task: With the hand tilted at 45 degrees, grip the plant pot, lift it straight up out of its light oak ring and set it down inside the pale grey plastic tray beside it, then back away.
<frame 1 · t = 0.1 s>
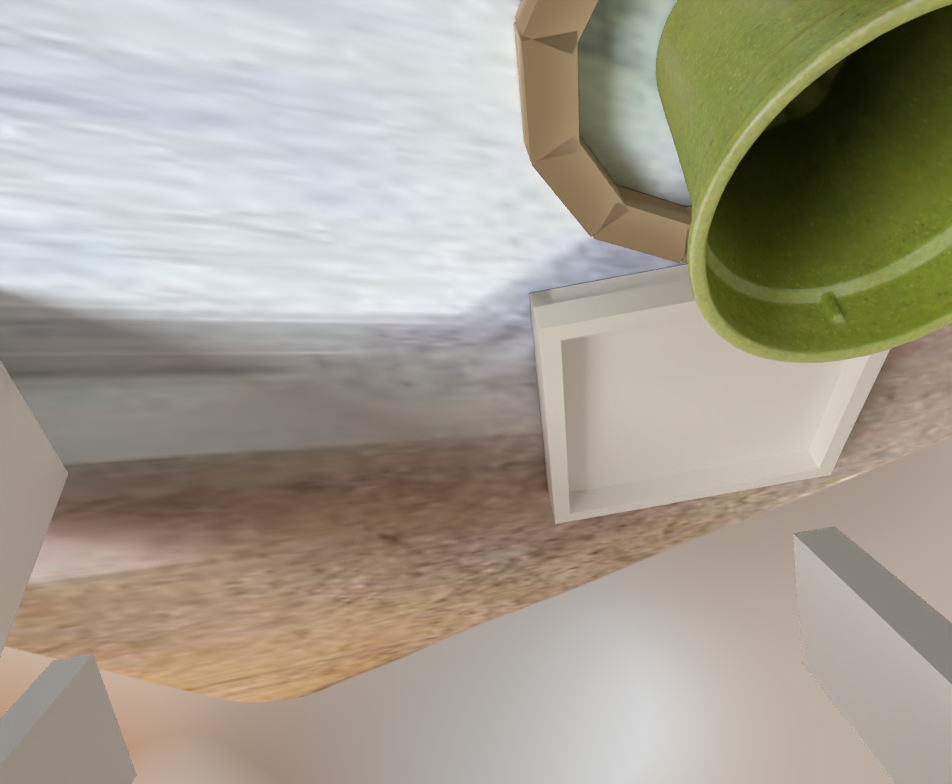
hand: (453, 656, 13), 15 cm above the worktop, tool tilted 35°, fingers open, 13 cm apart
plant pot: (750, 37, 21), resting in oak ring
oak ring: (753, 41, 20), on the worktop
grey tray: (695, 381, 32), on the worktop
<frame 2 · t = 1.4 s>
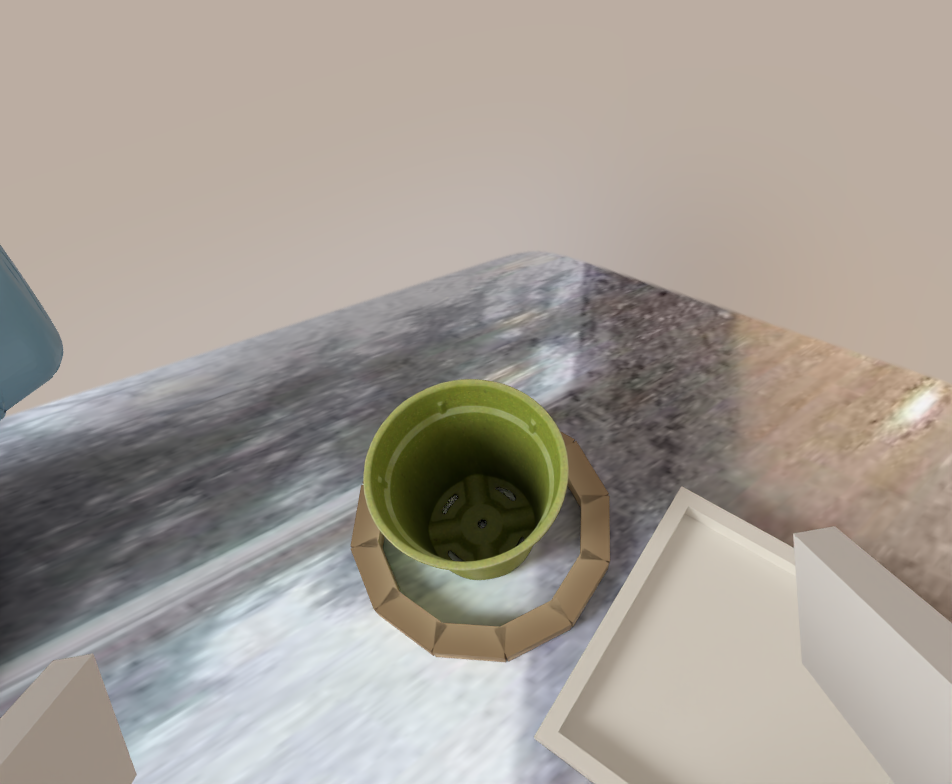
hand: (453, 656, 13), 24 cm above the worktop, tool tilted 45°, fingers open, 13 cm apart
plant pot: (482, 529, 39), resting in oak ring
oak ring: (481, 528, 39), on the worktop
grey tray: (743, 696, 34), on the worktop
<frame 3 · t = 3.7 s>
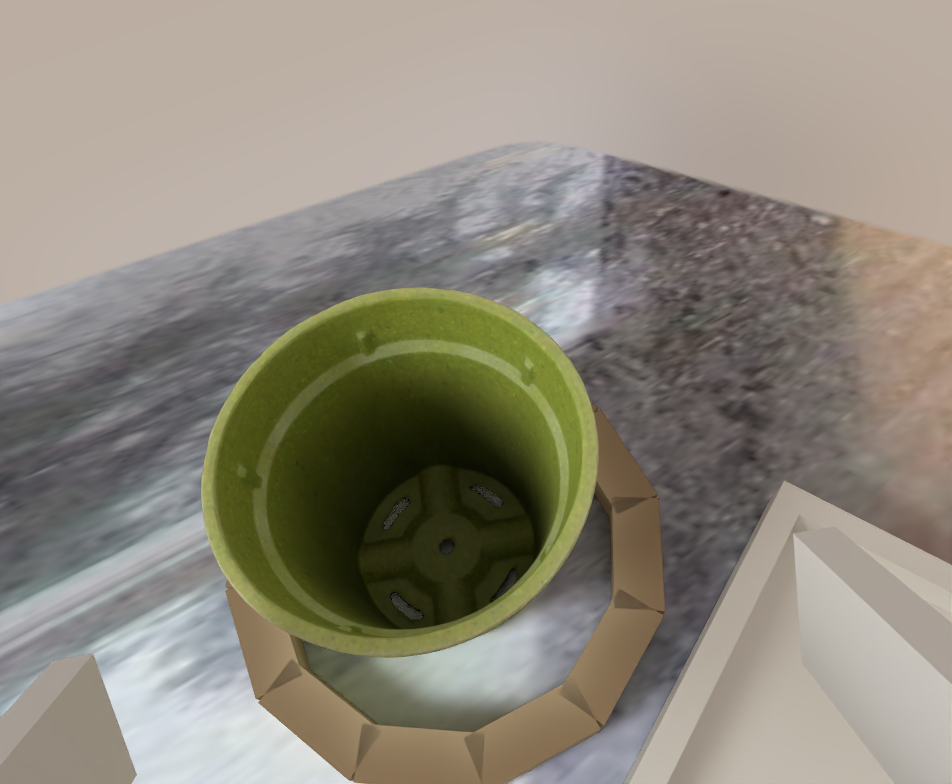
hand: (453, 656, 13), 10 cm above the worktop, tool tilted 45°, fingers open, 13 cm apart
plant pot: (448, 555, 24), resting in oak ring
oak ring: (447, 553, 24), on the worktop
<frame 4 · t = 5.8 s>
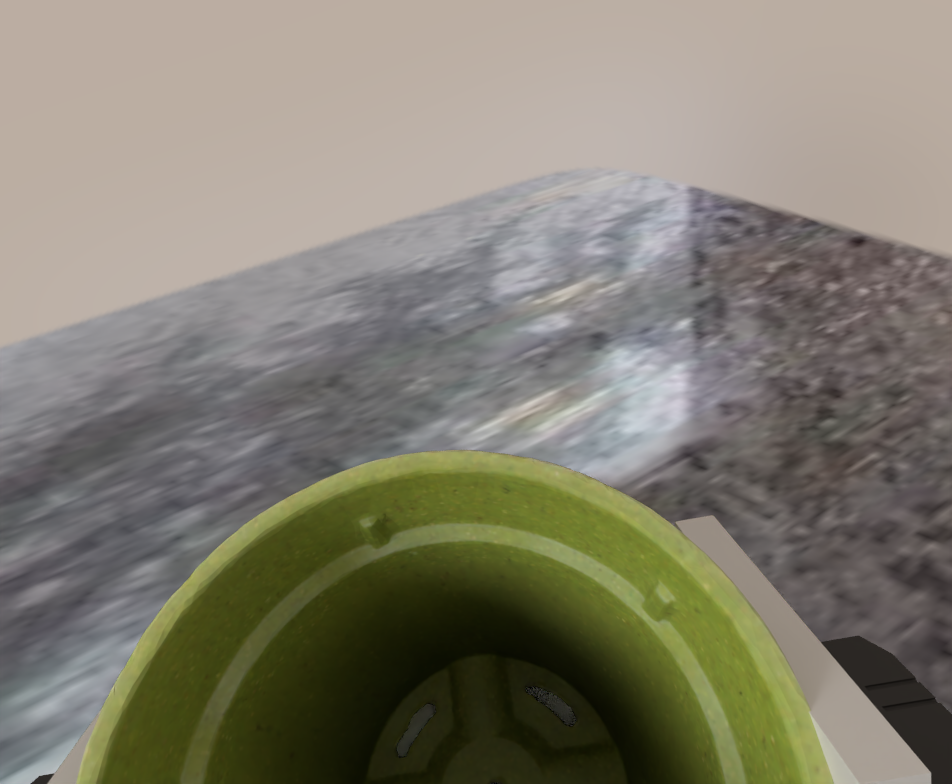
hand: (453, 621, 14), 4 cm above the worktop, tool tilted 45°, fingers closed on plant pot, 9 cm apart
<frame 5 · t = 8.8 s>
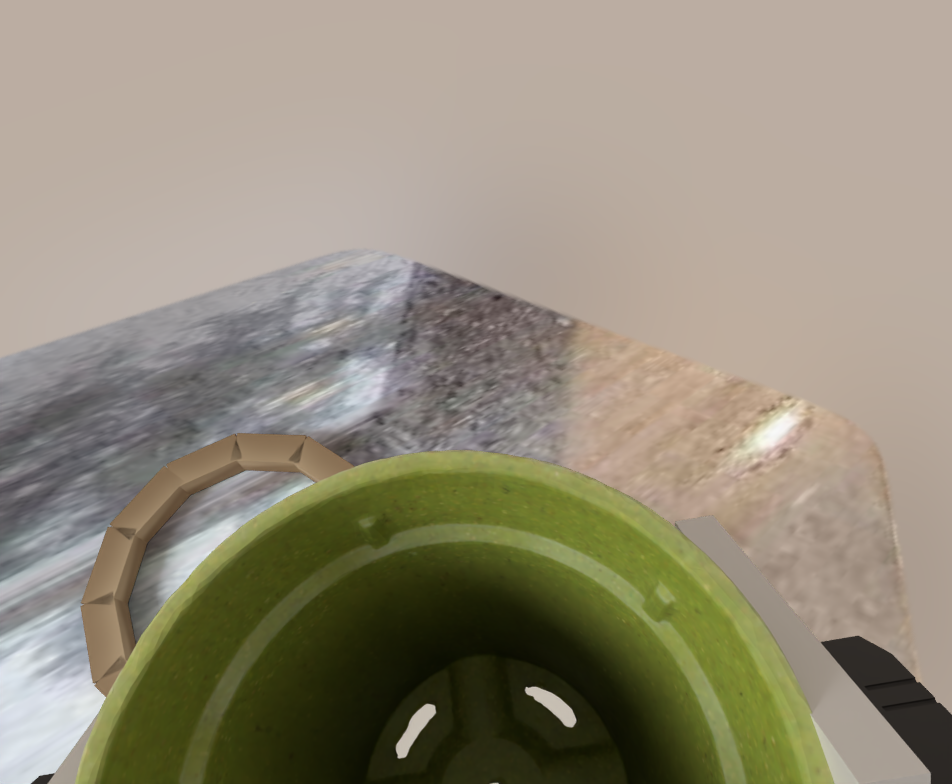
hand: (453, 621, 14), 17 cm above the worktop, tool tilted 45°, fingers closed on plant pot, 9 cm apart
oak ring: (246, 579, 33), on the worktop
when the fingers open (6 cm above the worktop, at t = 11.8 s): plant pot drops 1 cm, resting on grey tray.
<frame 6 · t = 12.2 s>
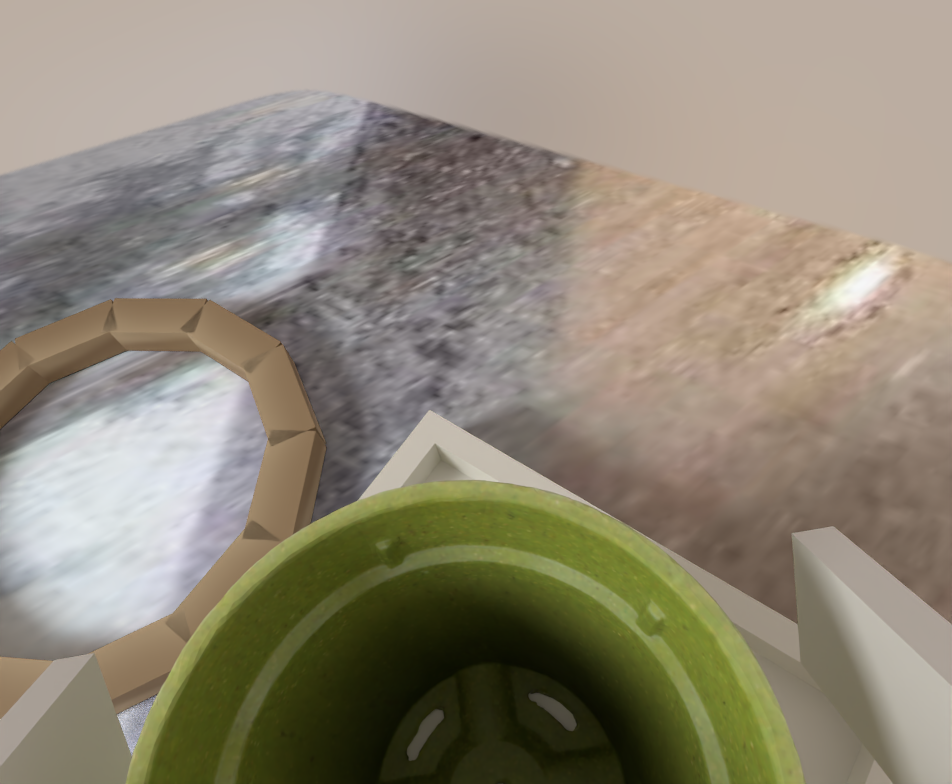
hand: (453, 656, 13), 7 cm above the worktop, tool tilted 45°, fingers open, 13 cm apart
oak ring: (113, 489, 23), on the worktop
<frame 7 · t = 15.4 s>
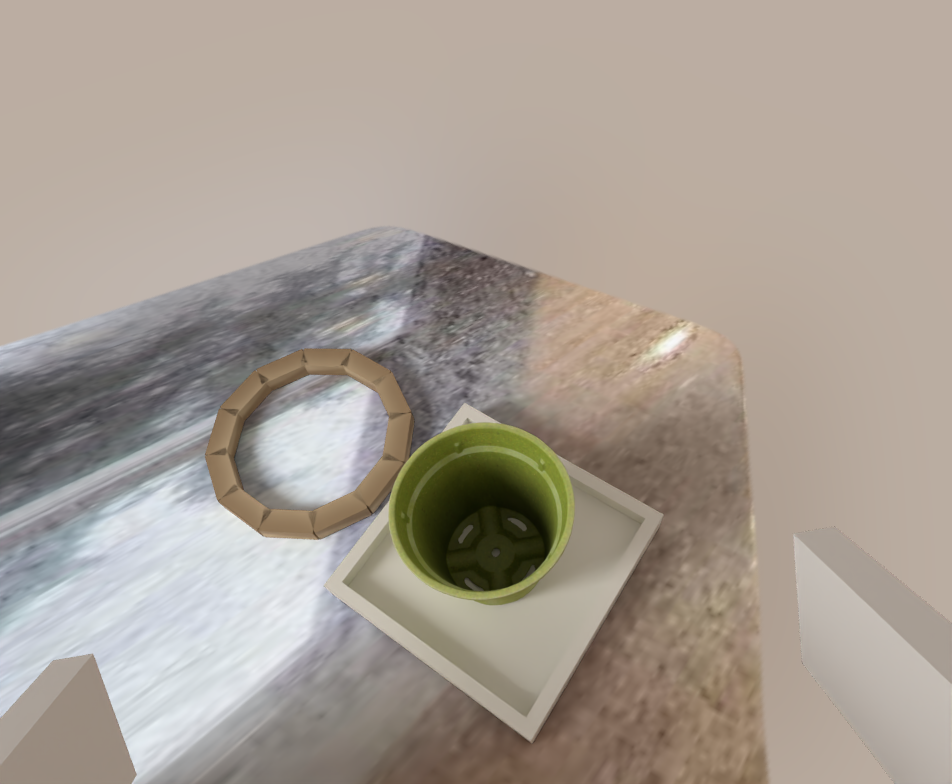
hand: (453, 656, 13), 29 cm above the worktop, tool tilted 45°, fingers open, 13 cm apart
plant pot: (495, 557, 43), point 1 cm above the worktop, touching grey tray
oak ring: (313, 441, 49), on the worktop
grey tray: (496, 560, 43), on the worktop
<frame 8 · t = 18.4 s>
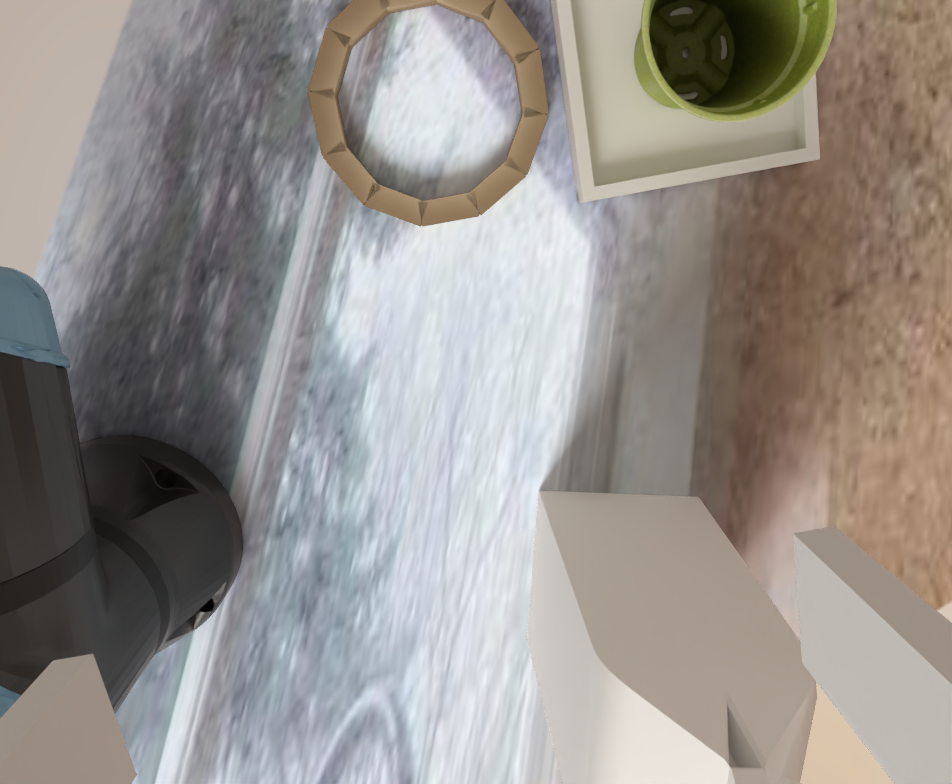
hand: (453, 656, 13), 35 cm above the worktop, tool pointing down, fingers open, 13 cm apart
plant pot: (682, 57, 42), point 1 cm above the worktop, touching grey tray
oak ring: (430, 105, 43), on the worktop
grey tray: (679, 59, 43), on the worktop
milk: (609, 568, 51), on the worktop
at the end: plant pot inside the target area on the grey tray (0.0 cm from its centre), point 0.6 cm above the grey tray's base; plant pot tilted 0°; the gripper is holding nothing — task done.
